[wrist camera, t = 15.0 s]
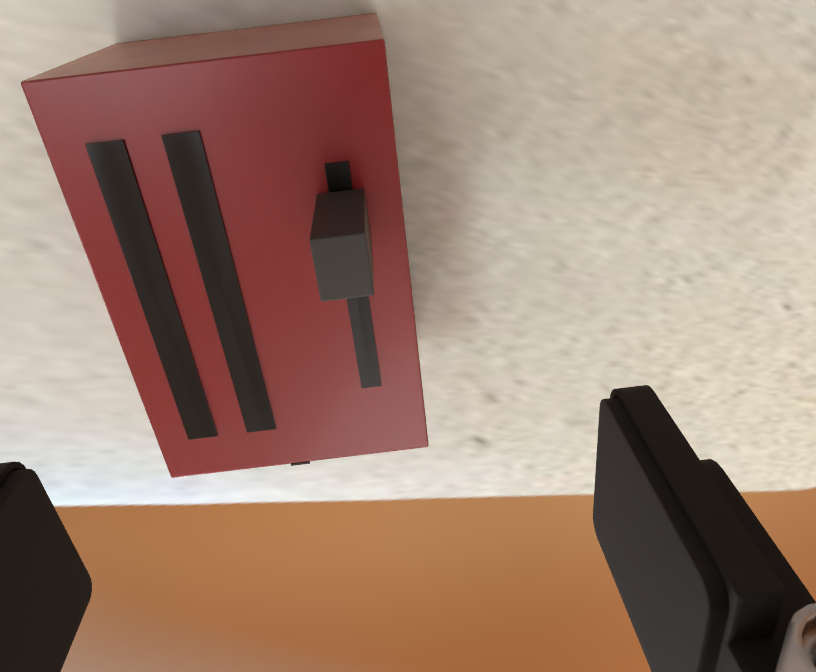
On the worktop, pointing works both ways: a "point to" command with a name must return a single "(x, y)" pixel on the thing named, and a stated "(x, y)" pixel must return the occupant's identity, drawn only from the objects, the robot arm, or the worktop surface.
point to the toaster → (242, 236)
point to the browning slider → (342, 245)
